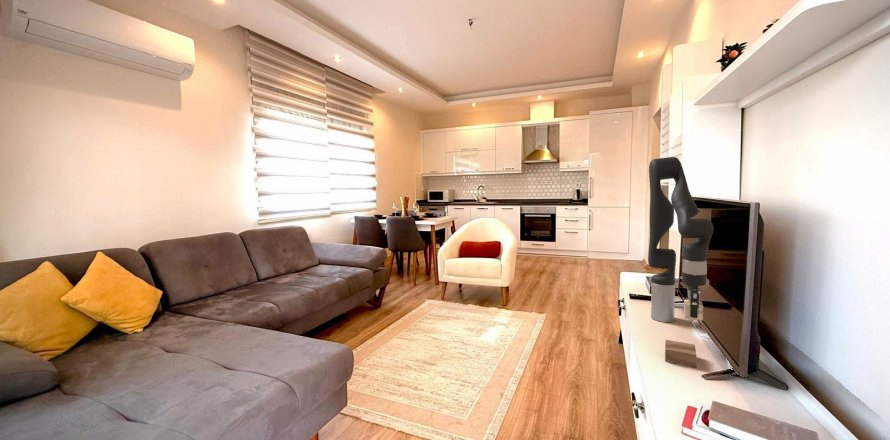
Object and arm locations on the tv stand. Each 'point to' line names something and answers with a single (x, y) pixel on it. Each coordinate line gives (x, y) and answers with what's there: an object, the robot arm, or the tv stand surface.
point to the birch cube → (687, 310)
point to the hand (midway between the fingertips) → (693, 314)
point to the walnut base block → (680, 353)
